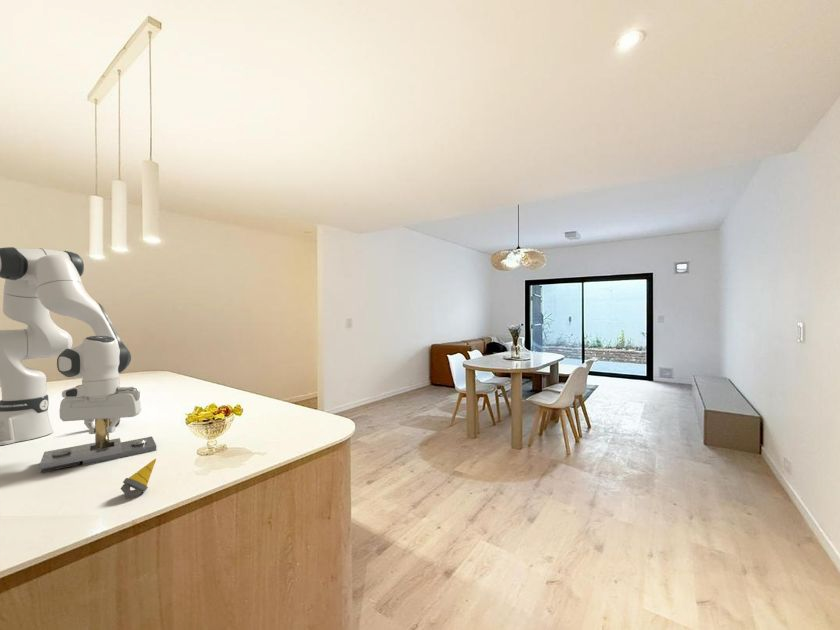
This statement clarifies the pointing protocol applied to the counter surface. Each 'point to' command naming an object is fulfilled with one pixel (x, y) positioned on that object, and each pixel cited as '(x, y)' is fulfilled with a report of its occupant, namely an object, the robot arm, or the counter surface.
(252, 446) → the counter surface
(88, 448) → the gray mounting plate
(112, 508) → the counter surface
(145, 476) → the yellow pointed cone
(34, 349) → the robot arm
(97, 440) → the brass pin
